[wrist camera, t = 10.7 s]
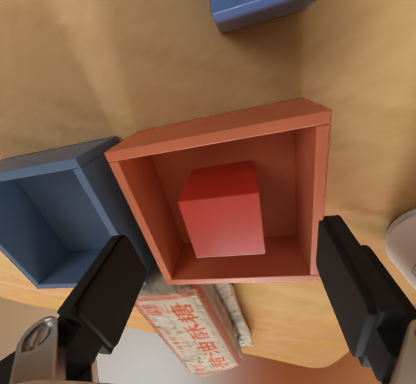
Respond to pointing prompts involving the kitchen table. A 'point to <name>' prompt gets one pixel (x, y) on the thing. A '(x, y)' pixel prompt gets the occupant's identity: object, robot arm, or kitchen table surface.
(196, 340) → the packaged product
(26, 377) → the robot arm
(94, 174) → the blue bin
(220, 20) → the blue block
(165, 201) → the terracotta bin
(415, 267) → the energy drink can
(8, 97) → the kitchen table surface
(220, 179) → the red block
